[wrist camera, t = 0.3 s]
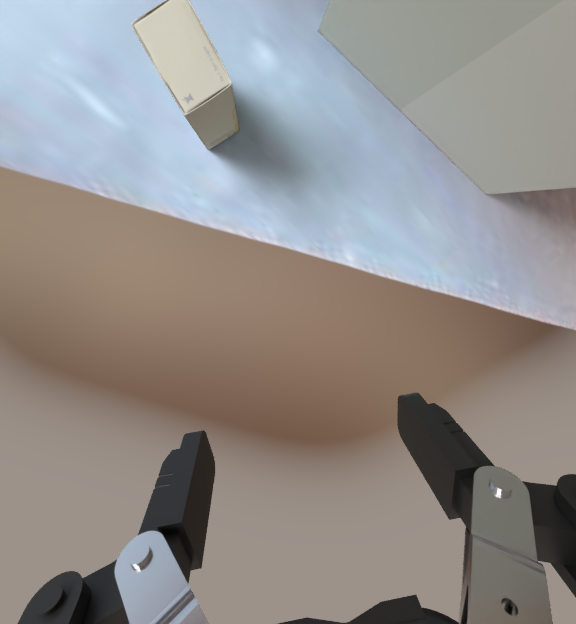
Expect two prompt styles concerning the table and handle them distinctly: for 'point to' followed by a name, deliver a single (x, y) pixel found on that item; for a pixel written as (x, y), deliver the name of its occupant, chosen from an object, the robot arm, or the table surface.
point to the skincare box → (189, 68)
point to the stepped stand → (474, 80)
